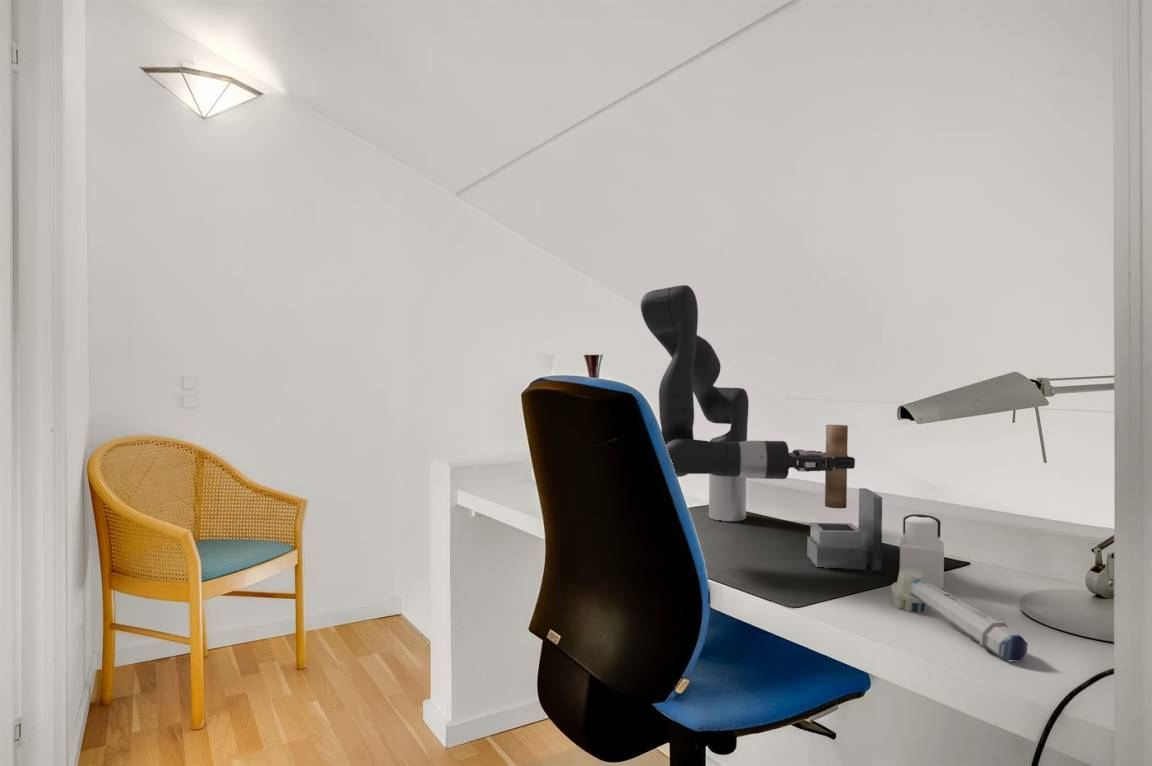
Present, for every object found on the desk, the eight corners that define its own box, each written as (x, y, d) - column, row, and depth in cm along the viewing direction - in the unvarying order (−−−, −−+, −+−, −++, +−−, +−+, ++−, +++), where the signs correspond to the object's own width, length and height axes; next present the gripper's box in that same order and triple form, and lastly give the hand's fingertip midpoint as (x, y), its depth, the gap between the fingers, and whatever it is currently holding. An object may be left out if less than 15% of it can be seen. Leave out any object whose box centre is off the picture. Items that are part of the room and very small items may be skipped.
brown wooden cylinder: (822, 504, 146) (824, 424, 146) (843, 504, 146) (844, 424, 145) (827, 508, 142) (828, 426, 142) (848, 508, 142) (850, 426, 141)
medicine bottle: (900, 574, 136) (900, 510, 136) (942, 579, 133) (943, 514, 132) (898, 585, 129) (899, 518, 129) (943, 590, 126) (944, 521, 126)
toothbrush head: (999, 636, 95) (886, 559, 120) (993, 683, 96) (883, 598, 121) (1034, 633, 96) (915, 558, 121) (1028, 680, 97) (911, 596, 122)
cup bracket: (806, 555, 150) (807, 487, 149) (866, 556, 148) (866, 488, 148) (817, 568, 140) (818, 496, 139) (881, 570, 139) (882, 497, 138)
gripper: (767, 444, 138) (861, 446, 136) (757, 437, 152) (842, 438, 150) (767, 484, 138) (861, 486, 136) (756, 473, 152) (841, 475, 151)
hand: (850, 461), depth 143 cm, fingers closed on brown wooden cylinder, 4 cm apart
